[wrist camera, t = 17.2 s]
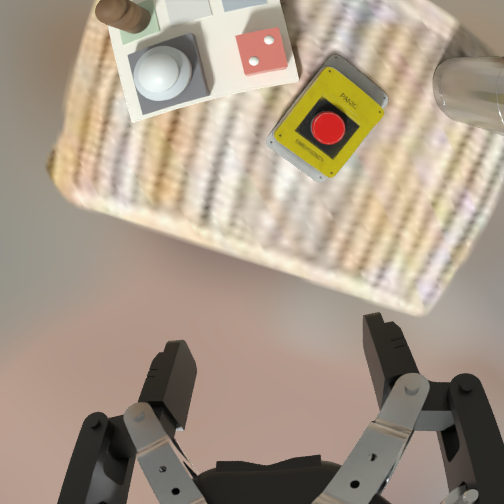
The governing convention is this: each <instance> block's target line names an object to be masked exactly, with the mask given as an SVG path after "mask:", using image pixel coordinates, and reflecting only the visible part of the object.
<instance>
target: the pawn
mask: <svg viewBox="0 0 504 504" xmlns="http://www.w3.org/2000/svg"><path fill="white" fill-rule="evenodd" d="M95 14H96V17H97V19H98V20H99V21H101V22H103V23H105V24H106V25H108V26H111V27H114V28H117V29H120V30H123V31H125V32H128V33H131V34H137V33H140V32H142V31H143V30H145V29H146V28H147V26H148V25H149V23H150V14H149V12H148V11H147V10H145V9H144V8H142V7H140V6H139V5H137V4H135V3H134V2H132V1H130V0H100V1H99V3H98V4H97V6H96V9H95Z"/></svg>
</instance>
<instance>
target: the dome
mask: <svg viewBox="0 0 504 504" xmlns="http://www.w3.org/2000/svg"><path fill="white" fill-rule="evenodd" d="M191 77H192V65H191V62H190V60H189V58H188V57H187V56H186V55H185V54H184V53H183V52H182V51H180V50H178V49H175V48H173V47H169V46H158V47H154V48H152V49H150V50H148V51H147V52H145V53H144V54H143V55H142V56H141V57H140V58H139V60H138V62H137V63H136V66H135V69H134V83H135V86H136V88H137V90H138V91H139V92H140V93H141V94H142V95H143V96H144V97H146V98H148V99H150V100H155V101H163V100H169V99H172V98H175V97H177V96H179V95H180V94H181V93H182V92H184V91H185V89H186V88H187V87H188V85H189V83H190V81H191Z"/></svg>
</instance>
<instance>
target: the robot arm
mask: <svg viewBox="0 0 504 504" xmlns="http://www.w3.org/2000/svg"><path fill="white" fill-rule="evenodd" d="M433 91H434V96H435V99H436V101H437V104H438V105H439V107H440V109H441V110H442V111H443V112H444V113H445V114H446V115H447V116H448V117H449V118H451V119H453V120H455V121H458V122H462V123H465V124H469V125H472V126H475V127H478V128H481V129H484V130H488V131H491V132H494V133H497V134H499V135H502V136H504V57H459V58H450V59H447V60H445V61H443V62H442V63H441V64H440V65H439V66H438V67H437V69H436V71H435V74H434V78H433ZM363 347H364V352H365V356H366V360H367V363H368V367H369V371H370V374H371V378H372V382H373V385H374V390H375V393H376V397H377V401H378V405H379V410H380V413H379V414H378V416H377V418H376V419H375V420H374V421H372V422H371V423H370V424H369V425H368V427H367V428H366V430H365V431H364V433H363V435H362V436H361V438H360V439H359V441H358V443H357V444H356V446H355V447H354V449H353V450H352V452H351V453H350V455H349V456H348V458H347V459H346V461H345V462H344V464H343V465H339V464H336V463H333V462H329V461H321V455H313V456H305V457H296V458H292V459H288V460H285V461H282V462H279V463H276V464H272V465H267V466H266V465H260V464H254V463H249V462H244V461H217V463H216V468H213V469H210V470H207V471H205V472H203V473H201V474H199V473H198V472H197V470H196V469H195V468H194V466H193V465H192V464H191V462H190V460H189V459H188V457H187V456H186V454H185V453H184V451H183V450H182V448H181V446H180V445H179V443H178V442H177V440H176V438H175V437H174V435H175V431H184V429H185V425H186V420H187V415H188V410H189V406H190V402H191V397H192V392H193V388H194V383H195V379H196V374H197V368H196V363H195V360H194V358H193V356H192V354H191V352H190V350H189V348H188V346H187V344H186V342H185V341H184V340H176V341H168V342H167V344H166V346H165V349H164V352H161V353H158V355H157V356H156V357H155V358H154V359H153V361H152V363H151V366H150V371H149V372H148V374H147V378H146V380H145V383H144V386H143V388H142V391H141V394H140V397H139V400H138V403H135V404H133V405H131V406H130V407H128V409H127V410H126V411H125V413H124V415H120V416H116V417H112V418H108V417H107V416H106V415H105V414H104V413H102V412H95V413H92V414H91V415H89V416H88V417H87V418H86V419H85V420H84V422H83V425H82V428H81V430H80V433H79V436H78V439H77V442H76V445H75V448H74V451H73V454H72V457H71V460H70V463H69V466H68V469H67V472H66V476H65V479H64V482H63V485H62V489H61V492H60V496H59V499H58V503H57V504H126V503H127V497H128V492H129V487H130V482H131V477H132V473H133V468H134V463H135V459H136V458H137V460H138V462H139V464H140V466H141V468H142V470H143V472H144V474H145V476H146V478H147V480H148V482H149V484H150V486H151V488H152V490H153V492H154V494H155V495H156V497H157V499H158V501H159V503H160V504H391V503H390V502H389V501H387V500H386V499H385V498H383V497H382V496H381V493H382V492H383V490H384V489H385V487H386V485H387V484H388V482H389V480H390V478H391V477H392V475H393V473H394V471H395V469H396V467H397V465H398V463H399V461H400V459H401V458H402V455H403V454H404V452H405V450H406V448H407V446H408V444H409V442H410V440H411V438H412V436H413V434H414V432H415V431H436V432H437V436H438V440H439V444H440V449H441V453H442V458H443V462H444V467H445V472H446V477H447V482H448V488H449V495H448V496H447V497H446V498H445V499H444V500H443V501H441V503H440V504H504V443H503V441H502V438H501V434H500V431H499V429H498V426H497V423H496V420H495V417H494V414H493V412H492V409H491V406H490V404H489V402H488V399H487V396H486V394H485V391H484V389H483V386H482V384H481V382H480V380H479V379H478V378H477V377H476V376H474V375H472V374H468V373H464V374H459V375H457V376H456V377H454V378H453V379H452V381H451V382H431V381H429V380H427V379H426V378H425V377H424V376H423V375H421V374H420V373H419V371H418V369H417V366H416V364H415V361H414V359H413V356H412V354H411V351H410V349H409V346H408V345H407V342H406V339H405V338H404V335H403V332H402V330H401V328H400V327H399V326H398V325H396V324H395V323H394V322H387V323H384V321H383V318H382V316H381V313H379V312H378V313H372V314H368V315H363Z"/></svg>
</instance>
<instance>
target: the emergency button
mask: <svg viewBox="0 0 504 504" xmlns="http://www.w3.org/2000/svg"><path fill="white" fill-rule="evenodd" d="M387 102H388V97H387V95H386V94H385V93H384V92H383V91H382V90H381V89H380V88H379V87H377V86H376V85H375V84H374V83H373V82H372V81H371V80H369V79H368V78H367V77H366V76H365V75H363V74H362V73H361V72H360V71H359V70H357V69H356V68H355V67H354V66H352V65H351V64H350V63H349V62H347V61H346V60H345V59H344V58H342V57H341V56H339V55H332V56H331V57H329V58H328V59H327V61H326V62H325V63H324V64H323V66H322V67H321V68H320V69H319V71H318V72H317V73H316V74H315V76H314V77H313V78H312V79H311V81H310V82H309V83H308V84H307V86H306V87H305V88H304V89H303V91H302V92H301V93H300V95H299V96H298V97H297V98H296V100H295V101H294V102H293V104H292V105H291V106H290V108H289V109H288V110H287V111H286V113H285V114H284V115H283V117H282V118H281V119H280V121H279V122H278V123H277V125H276V126H275V127H274V129H273V130H272V131H271V133H270V134H269V135H268V137H267V139H266V144H267V146H268V147H269V148H270V149H272V150H273V151H275V152H276V153H277V154H279V155H280V156H282V157H283V158H285V159H286V160H287V161H289V162H290V163H292V164H293V165H294V166H296V167H297V168H298V169H300V170H301V171H303V172H304V173H305V174H307V175H308V176H309V177H311V178H312V179H313V180H315V181H317V182H323V181H325V180H326V179H327V178H332V177H334V176H335V175H336V174H337V173H338V171H339V170H340V169H341V168H342V167H343V165H344V164H345V163H346V162H347V160H348V159H349V158H350V157H351V155H352V154H353V153H354V152H355V151H356V149H357V148H358V147H359V146H360V144H361V143H362V142H363V141H364V139H365V138H366V137H367V136H368V134H369V133H370V132H371V131H372V129H373V128H374V127H375V126H376V124H377V123H378V122H379V121H380V120H381V118H382V117H383V115H384V111H383V108H384V107H385V106H386V105H387Z"/></svg>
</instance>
